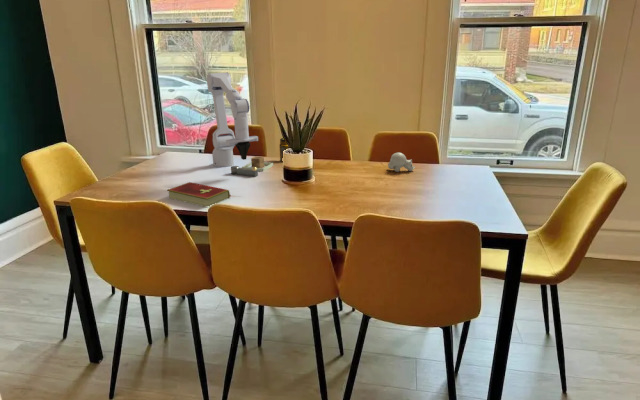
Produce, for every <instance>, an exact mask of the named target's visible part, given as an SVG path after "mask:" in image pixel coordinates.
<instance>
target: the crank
mask: <svg viewBox="0 0 640 400" xmlns="http://www.w3.org/2000/svg"><path fill="white" fill-rule="evenodd" d="M251 168H252V169H246V168H242V167H240V166H239V165H233V166H230V173H231V175H239V176H240V175H241V176H246V177H247V176H248V177H253V178H255V177H258V176H259V171H258V170H256V167H252V166H251Z"/></svg>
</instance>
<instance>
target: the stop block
mask: <svg viewBox="0 0 640 400" xmlns="http://www.w3.org/2000/svg"><path fill="white" fill-rule="evenodd" d="M250 160H251V161H250V163H252V165H251V168H252V167H256V168H264V167H265V165H264V162H265V157H264V156H258V155H257V156H256V155H255V156H254V157H251V159H250Z"/></svg>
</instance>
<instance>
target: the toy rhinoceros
mask: <svg viewBox="0 0 640 400" xmlns="http://www.w3.org/2000/svg"><path fill="white" fill-rule="evenodd" d="M387 167H388V169H390V170H393V171H394V172H396V173H399V172H400V170H401V168H404V169H407V171H408V172H413V170H414V169H415V168H416V165H413V159H407V157H406V155H405V154H404V153H402V152H395V153H393V154H392V155H391V157H390V160H389V162H388V163H387Z"/></svg>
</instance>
